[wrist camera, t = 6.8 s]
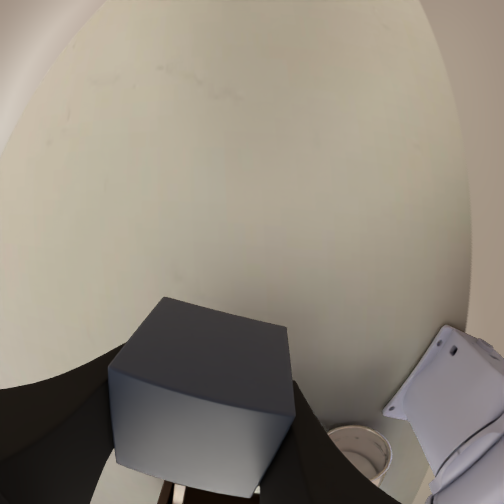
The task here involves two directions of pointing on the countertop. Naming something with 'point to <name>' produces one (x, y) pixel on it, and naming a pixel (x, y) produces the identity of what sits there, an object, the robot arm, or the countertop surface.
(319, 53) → the countertop surface
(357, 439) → the beige cup
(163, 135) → the countertop surface
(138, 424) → the block
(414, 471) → the countertop surface
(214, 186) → the countertop surface
